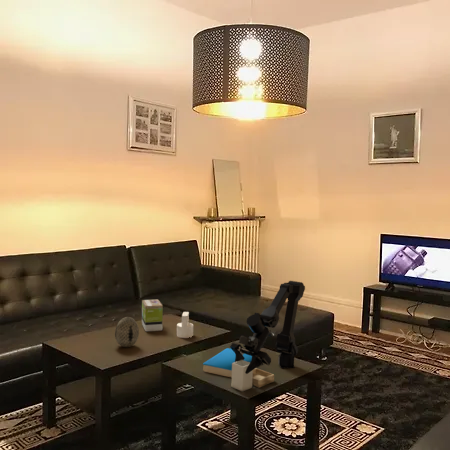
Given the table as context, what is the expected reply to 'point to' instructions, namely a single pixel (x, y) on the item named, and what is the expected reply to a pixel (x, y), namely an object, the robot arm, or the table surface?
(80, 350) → the table surface
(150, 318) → the tea box
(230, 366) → the book
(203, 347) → the table surface
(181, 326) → the cylinder with rectangular tab
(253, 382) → the pine crate
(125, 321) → the decorative egg
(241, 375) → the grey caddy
